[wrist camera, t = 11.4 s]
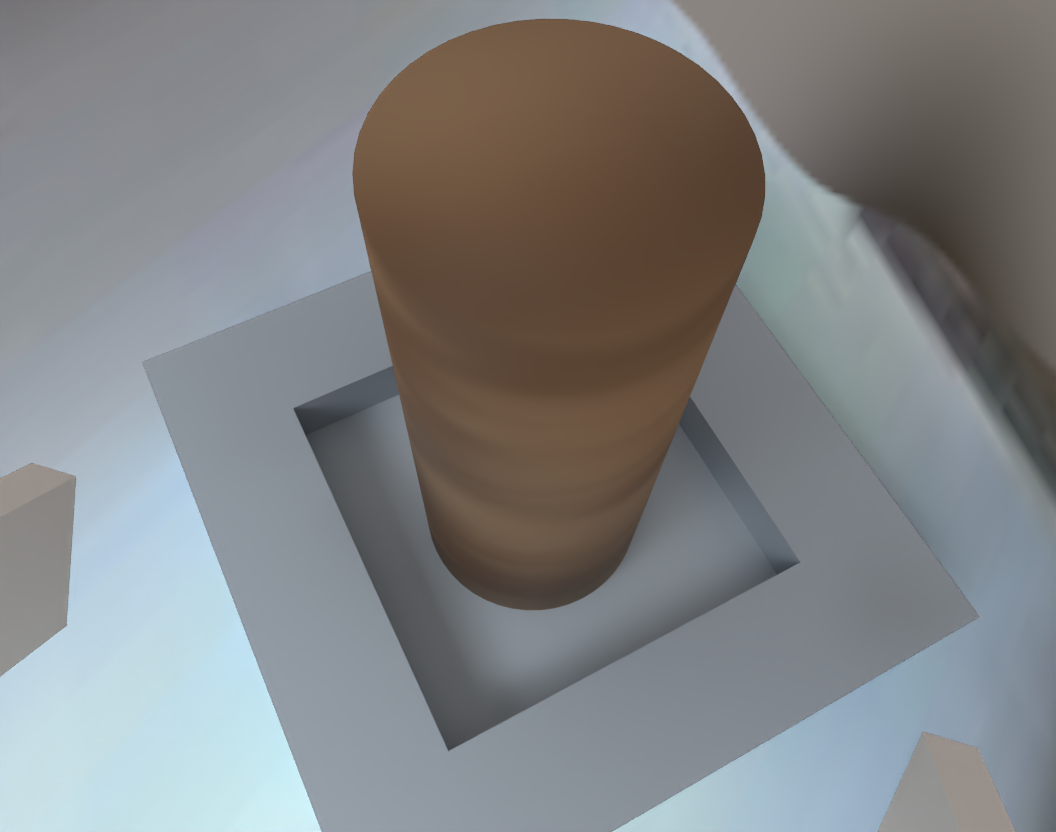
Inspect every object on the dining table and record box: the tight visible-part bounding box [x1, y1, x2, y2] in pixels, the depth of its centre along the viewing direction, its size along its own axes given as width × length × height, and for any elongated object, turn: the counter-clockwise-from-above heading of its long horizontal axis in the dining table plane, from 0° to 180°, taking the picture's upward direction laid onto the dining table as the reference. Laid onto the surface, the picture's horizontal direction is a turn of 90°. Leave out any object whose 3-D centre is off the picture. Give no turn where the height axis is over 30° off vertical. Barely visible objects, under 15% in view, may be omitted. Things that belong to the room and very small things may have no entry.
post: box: [353, 19, 765, 610], centre depth 16 cm, size 5×5×12 cm
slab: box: [142, 271, 979, 832], centre depth 22 cm, size 14×14×4 cm
